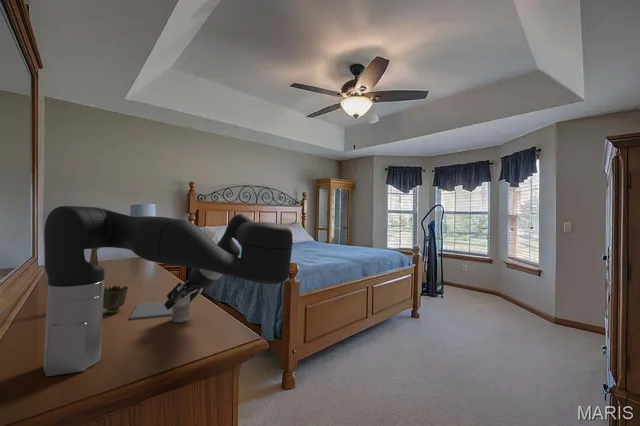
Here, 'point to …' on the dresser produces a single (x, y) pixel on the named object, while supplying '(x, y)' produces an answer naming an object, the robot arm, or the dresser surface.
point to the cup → (114, 298)
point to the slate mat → (150, 310)
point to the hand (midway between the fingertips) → (177, 303)
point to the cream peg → (181, 309)
